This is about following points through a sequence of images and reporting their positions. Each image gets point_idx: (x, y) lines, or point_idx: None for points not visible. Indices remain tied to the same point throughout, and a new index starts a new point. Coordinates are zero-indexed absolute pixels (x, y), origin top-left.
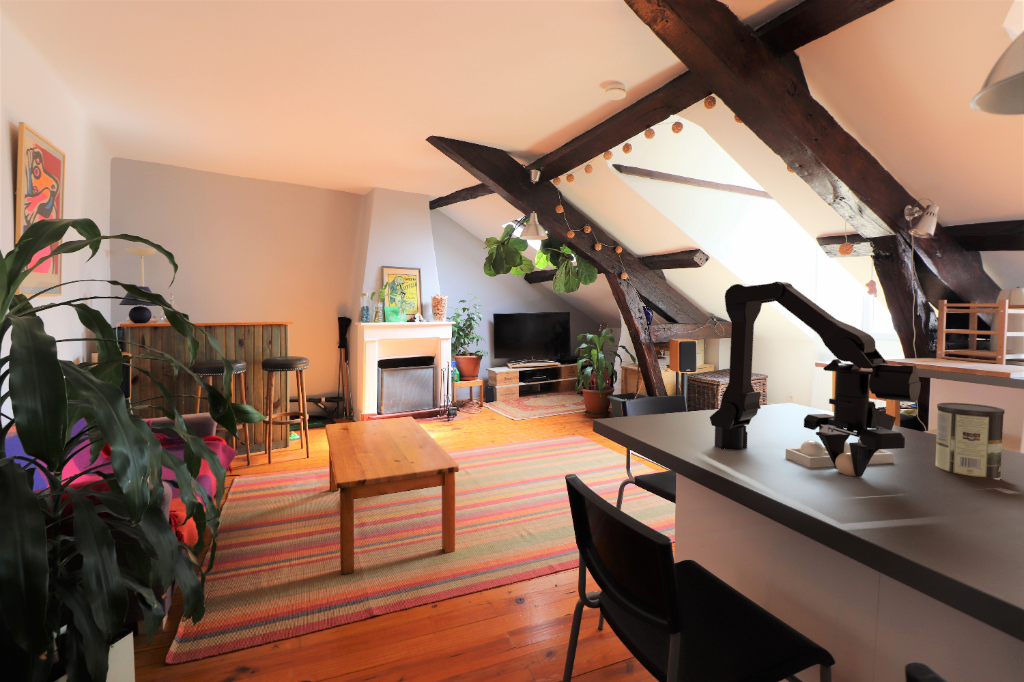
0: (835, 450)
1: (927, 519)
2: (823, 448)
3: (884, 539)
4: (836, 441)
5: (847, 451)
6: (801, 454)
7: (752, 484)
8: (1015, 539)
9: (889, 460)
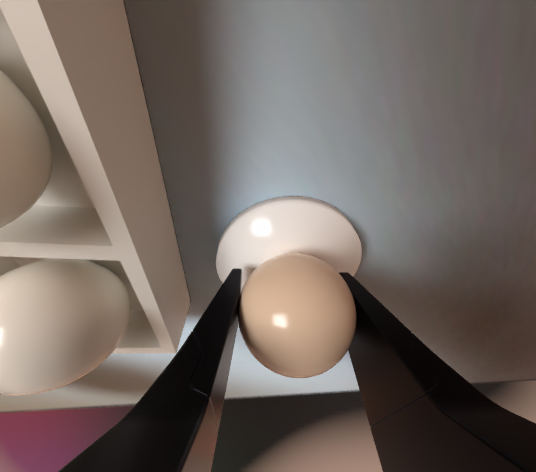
0: (225, 376)
1: None
2: (74, 326)
3: (481, 374)
4: (208, 447)
5: (4, 146)
6: (124, 352)
7: (255, 389)
8: None
9: None
